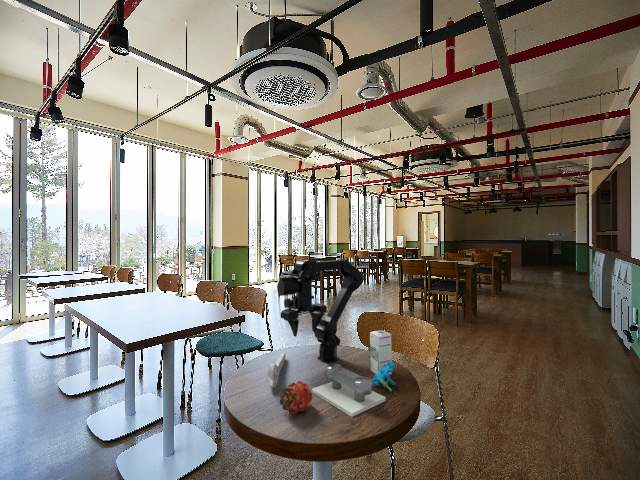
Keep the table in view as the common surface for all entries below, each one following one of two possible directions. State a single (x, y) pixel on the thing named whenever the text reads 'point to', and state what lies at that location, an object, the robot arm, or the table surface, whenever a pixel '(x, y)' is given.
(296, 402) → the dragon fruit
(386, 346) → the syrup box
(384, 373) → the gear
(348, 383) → the ball-ended metal rod
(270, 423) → the table surface
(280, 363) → the wrench
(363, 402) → the peg board
